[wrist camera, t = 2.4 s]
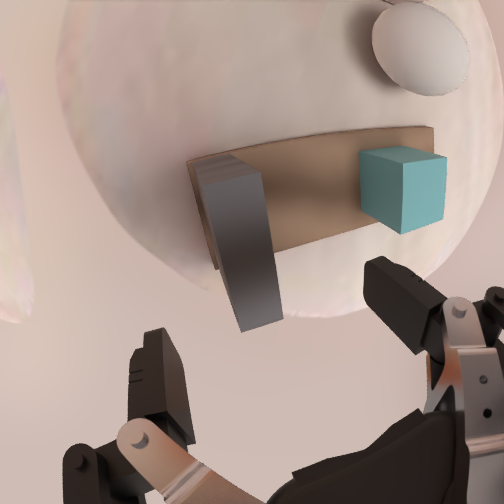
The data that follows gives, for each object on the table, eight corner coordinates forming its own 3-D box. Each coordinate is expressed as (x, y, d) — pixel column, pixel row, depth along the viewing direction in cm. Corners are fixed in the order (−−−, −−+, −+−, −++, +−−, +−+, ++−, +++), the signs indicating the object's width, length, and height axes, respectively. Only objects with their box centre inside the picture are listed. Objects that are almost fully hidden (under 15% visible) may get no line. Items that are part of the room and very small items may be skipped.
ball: (428, 64, 18) (495, 66, 11) (393, 112, 20) (467, 123, 13) (379, -1, 14) (445, -20, 7) (333, 41, 16) (406, 20, 9)
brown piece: (186, 161, 18) (195, 188, 11) (425, 126, 21) (493, 142, 14) (213, 263, 22) (235, 334, 15) (425, 202, 25) (483, 233, 18)
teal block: (358, 151, 19) (402, 163, 15) (403, 145, 20) (447, 157, 16) (361, 210, 22) (400, 234, 17) (403, 199, 23) (442, 219, 18)
